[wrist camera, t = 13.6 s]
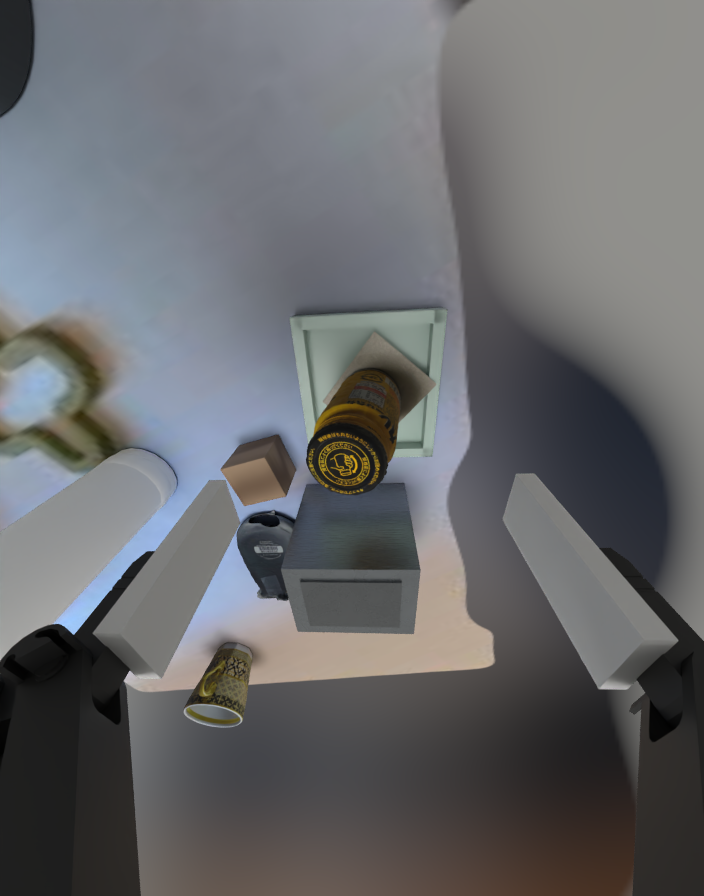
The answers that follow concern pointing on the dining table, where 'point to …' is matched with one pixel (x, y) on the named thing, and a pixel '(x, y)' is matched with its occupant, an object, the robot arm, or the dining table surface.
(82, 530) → the bottle
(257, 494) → the walnut block
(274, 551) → the electronic device
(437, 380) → the tray
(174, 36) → the dining table surface
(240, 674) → the ceramic cup
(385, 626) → the unit
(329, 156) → the dining table surface
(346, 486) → the condiment
